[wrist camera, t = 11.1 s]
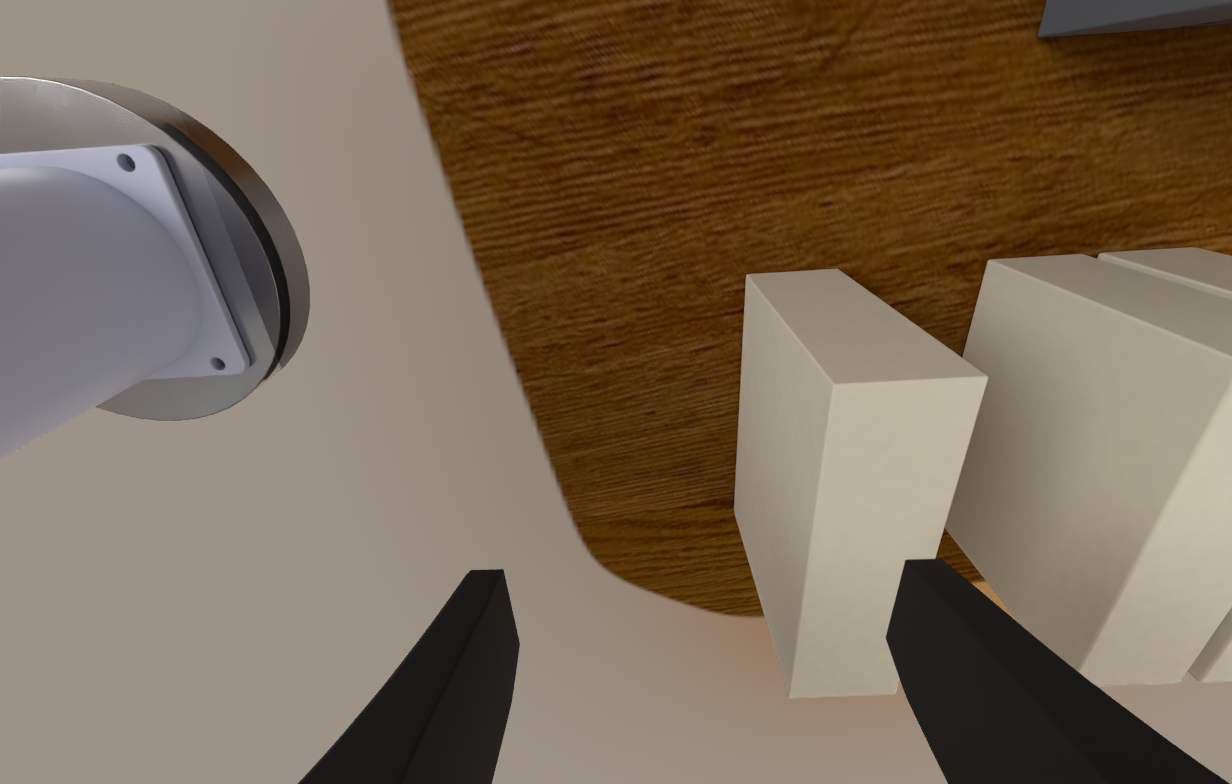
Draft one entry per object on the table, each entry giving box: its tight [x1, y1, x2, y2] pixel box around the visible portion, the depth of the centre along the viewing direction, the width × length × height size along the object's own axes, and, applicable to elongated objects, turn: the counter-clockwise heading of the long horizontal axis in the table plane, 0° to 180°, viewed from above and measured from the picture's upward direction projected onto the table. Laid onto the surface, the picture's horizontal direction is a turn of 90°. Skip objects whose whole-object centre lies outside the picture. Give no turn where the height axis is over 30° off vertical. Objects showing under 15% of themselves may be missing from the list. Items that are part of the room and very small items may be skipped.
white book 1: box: [734, 269, 988, 698], centre depth 16 cm, size 3×10×8 cm, turn 4°
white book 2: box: [944, 254, 1232, 686], centre depth 16 cm, size 3×10×8 cm, turn 4°
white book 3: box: [1097, 247, 1232, 683], centre depth 16 cm, size 3×10×8 cm, turn 4°
